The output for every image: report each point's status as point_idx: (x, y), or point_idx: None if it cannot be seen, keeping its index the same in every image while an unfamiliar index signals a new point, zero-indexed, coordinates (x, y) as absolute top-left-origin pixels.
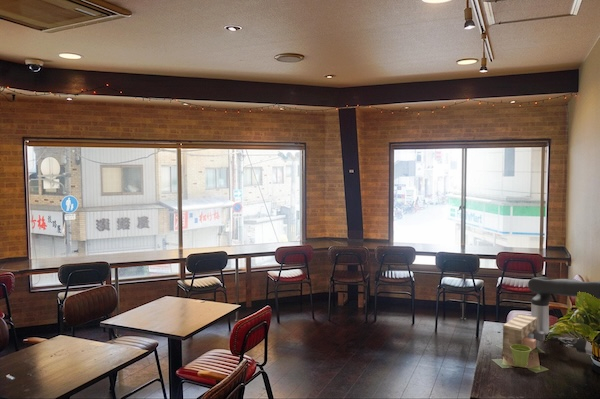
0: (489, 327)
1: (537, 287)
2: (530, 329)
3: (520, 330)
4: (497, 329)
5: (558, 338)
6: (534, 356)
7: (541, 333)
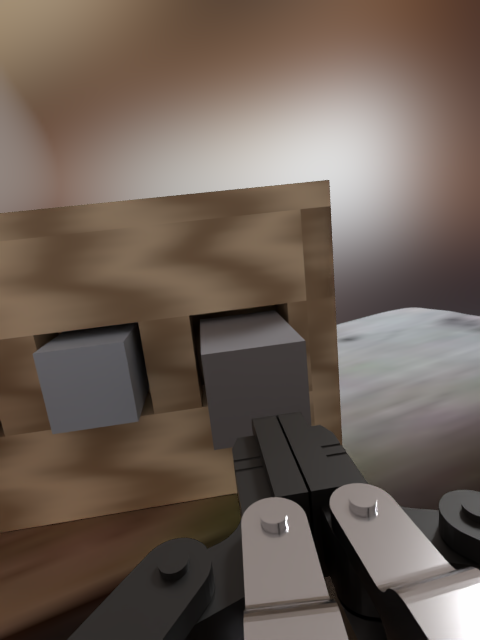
0: (359, 321)
1: None
2: (115, 287)
3: None
4: (372, 330)
5: (249, 509)
6: (49, 578)
7: (212, 346)
